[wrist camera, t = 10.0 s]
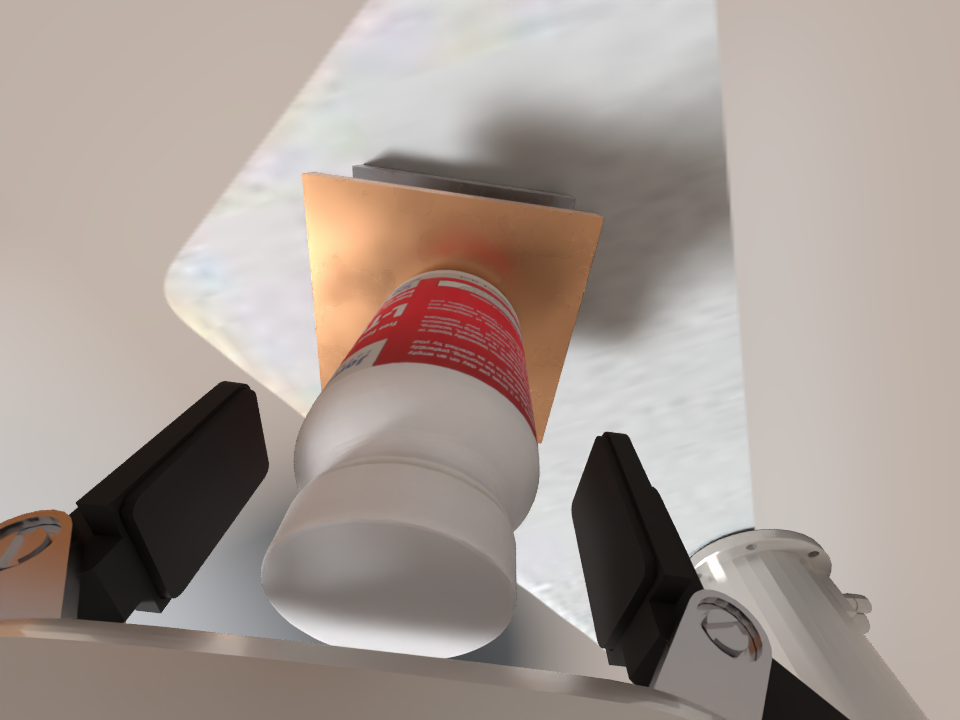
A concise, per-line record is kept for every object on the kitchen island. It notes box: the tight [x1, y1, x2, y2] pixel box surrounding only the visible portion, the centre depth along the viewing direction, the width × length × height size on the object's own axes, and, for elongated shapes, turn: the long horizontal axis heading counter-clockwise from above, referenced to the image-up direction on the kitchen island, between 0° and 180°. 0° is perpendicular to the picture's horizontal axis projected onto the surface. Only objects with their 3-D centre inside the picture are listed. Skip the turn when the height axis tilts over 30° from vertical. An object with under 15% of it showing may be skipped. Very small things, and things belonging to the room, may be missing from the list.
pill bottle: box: [261, 270, 539, 658], centre depth 12 cm, size 6×6×11 cm
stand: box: [302, 165, 604, 443], centre depth 20 cm, size 11×11×7 cm
